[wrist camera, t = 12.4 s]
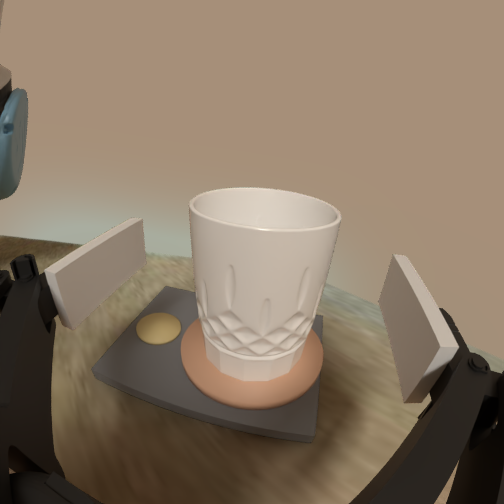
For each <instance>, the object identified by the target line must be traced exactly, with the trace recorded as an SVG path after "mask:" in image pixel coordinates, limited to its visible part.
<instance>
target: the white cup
mask: <svg viewBox="0 0 504 504" xmlns="http://www.w3.org/2000/svg"><path fill="white" fill-rule="evenodd" d="M189 214H190V215H189V216H190V233H191V247H192V262H193V276H194V283H195V288H196V301H197V306H198V315H199V321H200V323H201V325H202V333H203V342H204V347H205V351H206V356H207V359H208V360H209V361H210V362H211V363H212V364H213V365H214V366H215V367H216V368H217V369H218V370H219V371H220V372H221V373H223V374H225V375H228V376H230V377H233V378H236V379H238V380H241V381H270V380H273V379H275V378H278V377H280V376H282V375H285V374H287V373H289V372H290V371H291V369H292V368H293V367H294V366H295V364H296V363H297V362H298V361H299V360H300V358H301V355H302V352H303V349H304V345H305V342H306V339H307V335H308V333H309V331H310V329H311V327H312V325H313V322H314V319H315V315H316V311H317V308H318V306H319V303H320V300H321V297H322V294H323V290H324V287H325V283H326V279H327V276H328V272H329V267H330V264H331V260H332V256H333V252H334V248H335V244H336V240H337V236H338V231H339V227H340V223H341V218H342V216H341V213H340V212H339V211H338V209H336V208H335V207H334V206H332V205H330V204H329V203H327V202H324V201H322V200H320V199H317V198H314V197H311V196H308V195H304V194H300V193H295V192H290V191H284V190H277V189H268V188H250V187H248V188H247V187H245V188H244V187H243V188H225V189H218V190H212V191H208V192H204V193H201V194H199V195H197V196H195V197H194V198H192V199H191V200H190V202H189Z"/></svg>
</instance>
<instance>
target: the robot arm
mask: <svg viewBox="0 0 504 504" xmlns="http://www.w3.org/2000/svg"><path fill="white" fill-rule="evenodd" d="M3 4H4V0H0V25H1V17H2V10H3ZM27 118H28V98H27V93H26V91H25V90H24V89H19V88H16V89H15V90H13V91H12V87H11V71H10V70H8V69H6V68H5V67H3V66H2V65H0V200H1V199H5V198H8V197H9V196H11V195H12V194H13V193H14V192H15V191H16V189H17V187H18V185H19V182H20V179H21V175H22V169H23V163H24V155H25V145H26V135H27ZM146 264H147V263H146V254H145V244H144V232H143V221H142V219H139V218H130V219H128V220H126V221H124V222H123V223H121V224H119V225H117V226H116V227H114V228H112V229H110V230H108V231H106V232H105V233H103V234H101V235H99V236H98V237H96V238H94V239H93V240H91V241H89V242H88V243H86V244H84V245H83V246H81V247H79V248H78V249H76V250H74V251H73V252H71V253H70V254H68V255H66V256H65V257H63V258H62V259H60V260H59V261H57V262H56V263H54V264H52V265H51V266H49V267H48V268H46V269H45V270H44V271H45V272H43V273H42V274H40V275H39V272H38V268H37V264H36V261H35V257H34V255H31V254H26V255H22V256H19V257H17V258H15V259H14V260H12V261H11V263H10V265H11V269H12V272H13V275H14V279H15V281H14V280H11V277H10V274H9V271H7V270H0V314H1V315H0V504H103V503H101V502H99V501H98V500H96V499H94V498H93V497H91V496H89V495H88V494H86V493H85V492H83V491H81V490H80V489H78V488H77V487H75V486H74V485H72V484H71V483H69V482H68V481H67V480H65V476H64V472H63V470H62V467H61V466H60V464H59V462H58V460H57V459H56V456H55V453H54V445H53V433H52V416H51V378H52V359H53V347H54V337H55V329H56V322H55V320H54V317H55V316H57V315H59V318H60V321H61V323H62V325H63V326H65V327H67V328H69V329H71V330H74V329H75V328H76V327H77V326H78V325H79V324H80V323H81V322H82V321H83V320H84V319H86V318H87V317H88V316H89V315H90V314H91V313H92V312H93V311H94V310H95V309H96V308H97V307H98V306H99V305H100V304H102V303H103V302H104V301H105V300H106V299H107V298H108V297H109V296H110V295H111V294H113V293H114V292H115V291H116V290H117V289H118V288H119V287H120V286H121V285H123V284H124V283H125V282H126V281H127V280H128V279H129V278H131V277H132V276H133V275H134V274H135V273H136V272H137V271H139V270H140V269H141V268H142V267H143V266H144V265H146ZM378 302H379V305H380V309H381V312H382V315H383V319H384V322H385V326H386V329H387V333H388V336H389V340H390V344H391V348H392V352H393V356H394V360H395V364H396V368H397V372H398V377H399V381H400V386H401V391H402V396H403V401H404V403H422V401H423V400H424V399H425V397H426V396H427V395H428V393H429V392H430V396H431V400H432V401H431V402H430V403H429V404H428V406H427V407H426V408H425V409H424V411H423V412H422V413H421V414H420V415H419V416H418V419H419V420H418V421H417V423H416V424H415V426H414V427H413V429H412V430H411V432H410V433H409V435H408V436H407V437H406V439H405V440H404V441H403V443H402V444H401V446H400V447H399V448H398V449H397V451H396V452H395V453H394V455H393V456H392V457H391V458H390V460H389V461H388V462H387V463H386V465H385V466H384V467H383V468H382V469H381V470H380V472H379V473H378V474H377V475H376V476H375V477H374V478H373V480H372V481H371V482H370V483H369V484H368V485H367V486H366V487H365V488H364V489H363V490H362V491H361V492H360V493H359V494H358V495H357V496H356V497H355V498H354V499H353V500H352V501H351V502H350V503H349V504H434V503H435V501H436V500H437V498H438V496H439V495H440V493H441V492H442V490H443V488H444V487H445V485H446V483H447V481H448V480H449V478H450V476H451V474H452V472H453V470H454V468H455V466H456V465H457V463H458V461H459V463H458V467H457V471H456V474H455V478H454V481H453V484H452V488H451V491H450V494H449V497H448V500H447V502H446V504H504V371H503V372H502V374H501V373H497V372H494V371H490V367H489V364H488V363H487V361H486V360H485V359H484V358H483V357H481V356H480V355H478V354H476V353H470V351H469V349H468V347H467V345H466V343H465V342H464V340H463V338H462V336H461V334H460V333H459V332H458V331H459V330H458V328H457V327H456V326H455V323H454V322H453V319H452V318H451V316H450V315H449V314H448V313H447V312H446V311H445V310H444V309H443V308H438V306H437V305H436V303H435V301H434V299H433V298H432V296H431V294H430V293H429V291H428V289H427V288H426V286H425V284H424V283H423V281H422V279H421V278H420V276H419V275H418V273H417V272H416V270H415V269H414V267H413V265H412V264H411V262H410V261H409V259H408V258H407V256H403V255H397V254H393V255H392V259H391V262H390V266H389V270H388V273H387V276H386V279H385V282H384V286H383V289H382V292H381V295H380V298H379V301H378ZM497 421H498V422H497ZM496 422H497V425H496ZM459 458H460V459H459ZM9 468H10V469H12V470H13V471H14V472H16V473H13V474H9Z"/></svg>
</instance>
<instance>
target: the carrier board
mask: <svg viewBox="0 0 504 504" xmlns="http://www.w3.org/2000/svg"><path fill="white" fill-rule="evenodd" d="M322 328H323V316H321V315H315V319H314V322H313V325H312V327H311V329H310V331H309V333H308V335H307V339H306V342H305V345H304V349H303V352H302V355H301V358H300V360H299V361H298V362H297V363H296V364H295V366H294V367H293V368H292V369H291V371H290V372H289V373H287V374H285V375H282V376H280V377H278V378H275V379H273V380H270V381H241V380H238V379H236V378H233V377H230V376H228V375H225V374H223V373H221V372H220V371H219V370H218V369H217V368H216V367H215V366H214V365H213V364H212V363H211V362H210V361H209V360H208V359H207V356H206V351H205V347H204V342H203V333H202V325H201V323H200V321H199V315H198V306H197V301H196V293H195V292H191V291H186V290H182V289H177V288H173V287H168V286H165V287H164V289H163V290H162V291H161V292H160V293H159V294H158V295H157V296H156V297H155V298H154V299H153V300H152V301H151V302H150V304H149V305H148V306H147V307H146V308H145V309H144V310H143V311H142V312H141V313H140V314H139V316H138V317H137V318H136V319H135V320H134V321H133V322H132V323H131V324H130V325H129V327H128V328H127V329H126V330H125V331H124V332H123V333H122V334H121V335H120V337H119V338H118V339H117V340H116V341H115V342H114V343H113V345H112V346H111V347H110V348H109V349H108V350H107V351H106V352H105V354H104V355H103V356H102V357H101V358H100V359H99V361H98V362H97V363H96V364H95V365H94V366H93V368H92V369H91V370H92V372H93V374H94V376H95V378H97V379H98V380H100V381H102V382H104V383H106V384H108V385H111V386H113V387H115V388H117V389H119V390H121V391H123V392H126V393H128V394H130V395H132V396H135V397H137V398H139V399H142V400H144V401H147V402H149V403H152V404H154V405H157V406H159V407H162V408H165V409H168V410H170V411H173V412H176V413H179V414H182V415H185V416H188V417H191V418H194V419H197V420H201V421H204V422H208V423H211V424H215V425H218V426H222V427H226V428H230V429H234V430H238V431H243V432H247V433H252V434H257V435H262V436H267V437H273V438H278V439H285V440H292V441H299V442H307V443H311V442H312V440H313V438H314V437H315V431H316V421H317V411H318V400H319V387H320V372H321V367H322V364H323V348H322Z"/></svg>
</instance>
